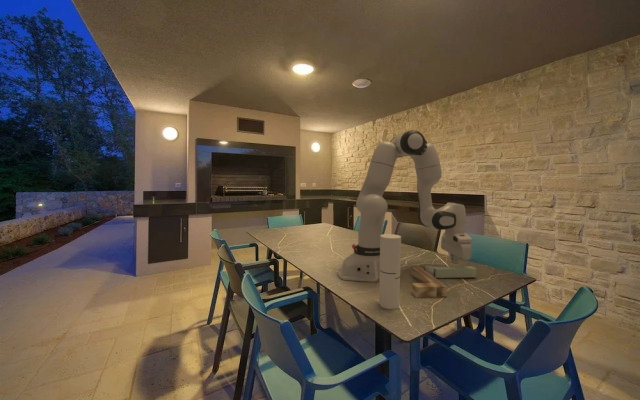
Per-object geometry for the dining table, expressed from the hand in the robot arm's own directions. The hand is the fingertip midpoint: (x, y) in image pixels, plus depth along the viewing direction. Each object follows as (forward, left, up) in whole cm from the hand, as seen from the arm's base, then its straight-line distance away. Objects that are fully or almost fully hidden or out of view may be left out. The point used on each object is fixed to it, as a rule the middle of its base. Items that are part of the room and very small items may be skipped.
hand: (454, 263), depth 125 cm
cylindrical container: (-43, -32, -5) cm, 53 cm away
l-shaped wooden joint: (-24, -15, -5) cm, 28 cm away
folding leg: (-6, -7, -4) cm, 10 cm away
